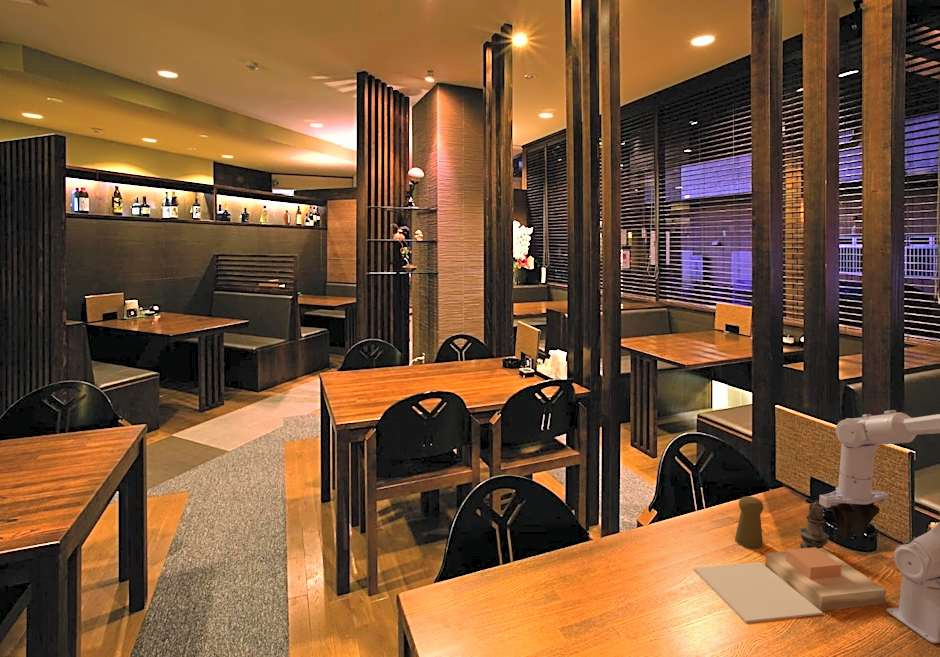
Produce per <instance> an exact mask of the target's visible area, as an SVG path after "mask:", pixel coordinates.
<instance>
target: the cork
mask: <svg viewBox="0 0 940 657" xmlns="http://www.w3.org/2000/svg"><path fill="white" fill-rule="evenodd" d="M738 506H739V507H738V508H739V510H740V513H739V519H738V523H737V529H736V533H735V537H734V542H735V543H736V542H737V543H739V544H740V545H739V544H738V545H739V546H741V545H742V546H741V547H743V546H744V547H743V548H746V547H747V548H746V549H752V550H757V549H761V548H763V546H764V541H763V540H764V539H763V532H762V531H763V530H762V520H761V518H762V517H761V515H762V513H763V511H764V504H763V502H762V500H760V499H759V498H757V497H754V496H743V497H741V498H740V499H739V501H738ZM737 543H736V544H737Z"/></svg>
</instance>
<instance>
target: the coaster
mask: <svg viewBox="0 0 940 657" xmlns="http://www.w3.org/2000/svg"><path fill="white" fill-rule="evenodd" d="M785 551H786V562H788V563H789V564H790V565H792V566H793V567H794V568H796V569H797V570H798V571H800V572H801V573H802V574H804V575H805V576H806V577H807V578H809V579H818V578H828V577H838V576H841V566H842V565H841V564H840V563H838V562H837V561H835V560H834V559H832V558H831V557H829V556H828V555H826V554H825V553H823V552H822V551H820V550H819V549H817V548H816V547H813V548H794V549H793V548H791V549H785Z"/></svg>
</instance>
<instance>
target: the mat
mask: <svg viewBox="0 0 940 657" xmlns="http://www.w3.org/2000/svg"><path fill="white" fill-rule="evenodd" d="M693 571H694V572H695V573H696V574H697V575H698V576H699V578H701V579H702V580H703V581H704V583H705V584H707V585H708V586H709V588H711V589H712V591H714V592H715V593H716V594H717V595H718V596H719V597H720V599H722V600H723V601H724V602H725V603H726V605H728V607H730V608H731V609H732V610H733V611H734V612H735V614H737V616H739V618H740V619H741V620H743V622H744V623H748V624H749V623H756V622H765V621H775V620H776V621H777V620H782V619H783V620H785V619H792V618H801V617H809V616H811V617H812V616H819V615H820V616H822V615H823V613H824V612H823V611H820V610H819V609H818V608H817V607H815V606H814V605H813V604H812V603H810V602H809V601H808V600H807V599H806V598H804V597H803V596H802V595H801V594H799V593H798V592H797V591H796V590H794V589H793V588H792V587H791V586H789V585H788V584H787V583H786V582H785V581H783V580H782V579H781V578H780V577H778V576H777V575H776V574H775V573H773V572H772V571H771V570H770V569H768V568H767V567H766V566H765V564H763V563H762V562H761V561H758V562H756V561H755V562H746V563H745V562H744V563H737V564H736V563H735V564H725V565H715V566H704V567H703V566H702V567H693Z"/></svg>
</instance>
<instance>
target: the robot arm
mask: <svg viewBox="0 0 940 657" xmlns="http://www.w3.org/2000/svg"><path fill="white" fill-rule="evenodd" d="M929 434H940V413H937V414H930V415H924V416H918V417H911V416H909V415H908V414H906V413H905V412H897V410H896V409H891V410H885V411H883V413H882V414H878V415H877V414H876V415H872V414H871V413H868V414H862V416H861V417H854V418H848V417H847V418H845V419H842V420H840V421H838V423H837V424H836V426H835V435H836V437H837V440H838V441H839V442H840V444H841V449H840V458H839V459H840V462H839V471H838V472H839V474H838V484H837V485H838V486H837V487H835V490H834V491H832V492H829V493H825V494H819V500H818V503H819V504H820V505H822V506H823V508H826V509H828V508H830V511H831V512H832V514H833V517H834V520H835V523H836V527H837V530H838V532H837V533H838V535H839V536H840V537H842V538H843V539H845V540H850V538H851V536H852V534H853V535H854V536H856V537H857V538H859V539H864V536H865V534H866V532H867V530H868V527H869V526H870V524H871V522H872V521H873V519H874V518H875V517H876V516H877V515H878V514H879V513H880V507H879V506H878V505H875V503H883V504H888V503H889V498H890V494H889V493H887V492H885V491H883V490H873V480H874V471H875V470H874V468H875V458H876V455H875V454H876V453H877V452H878V447H879V446H880V445H894V444H905V443H906V444H907V443H911V442H913V441H914V440H915V438H916V436H917V435H929ZM893 560H894V563H895V566H896V567H897V569H898V570H899V572H900V575H901V583H900V592H899V605H898V606H896V607H895V606H894V607H887V608H886V610H885V612H887V613H888V614H890V615H891V616H893V617H894V618H895V619H897V620H898V621H900V622H901V623H902V624H904V625H906V627H908V628H910V629H911V630H913V631H914V632H915V633H917V634H918V635H919V636H920V637H922V638H924V639H925V640H927V642H929V643H931V644H940V521H939V522H937V524H936V525H935V526H934V527H933V528H932V529H931V530H929V531H928V532H925V533H924V534H922V535H919V536H917V537H915V538H914V539H913V540H911V541H910V543H907V544H906V543H905V544H900V545H899V546H897V547H896V548H895V550H894V552H893Z"/></svg>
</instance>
